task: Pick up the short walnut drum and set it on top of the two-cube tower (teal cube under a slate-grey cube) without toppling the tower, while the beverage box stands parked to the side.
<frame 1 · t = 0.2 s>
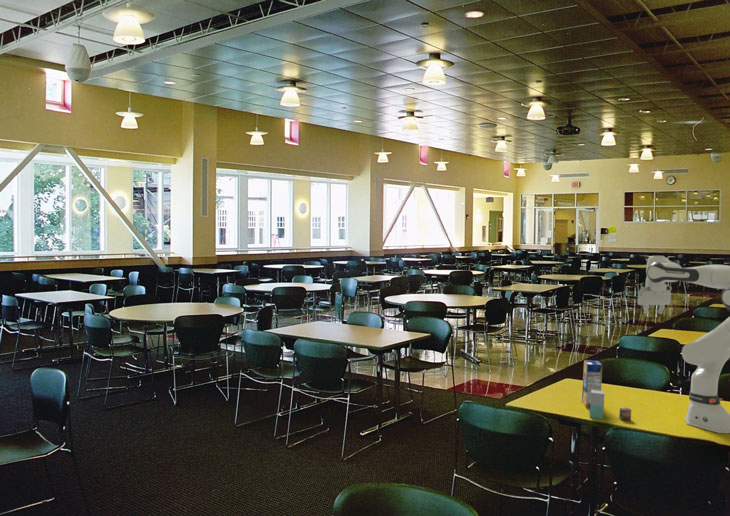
hand: (653, 313, 318), 48 cm above the table, fingers open, 8 cm apart
beverage box: (590, 405, 317), on the table
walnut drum: (624, 419, 294), on the table
tower top: (597, 404, 297), point 6 cm above the table, touching tower base
tower base: (596, 416, 298), on the table, touching tower top
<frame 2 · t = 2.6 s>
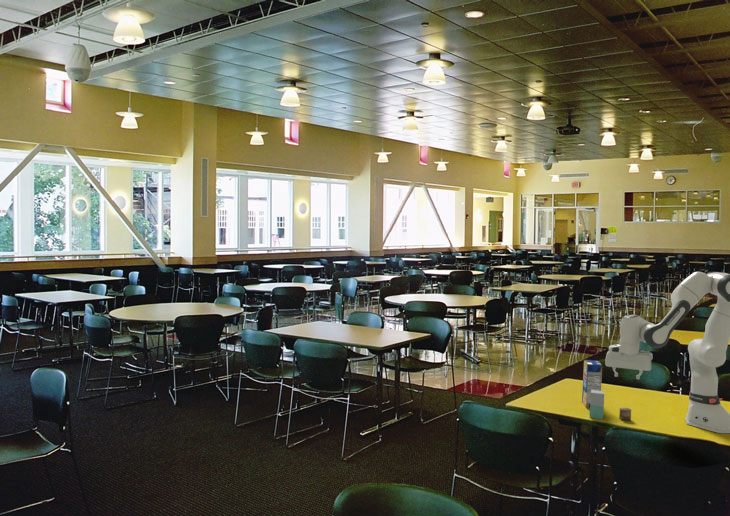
hand: (627, 377, 293), 20 cm above the table, fingers open, 8 cm apart
nothing on the table moved.
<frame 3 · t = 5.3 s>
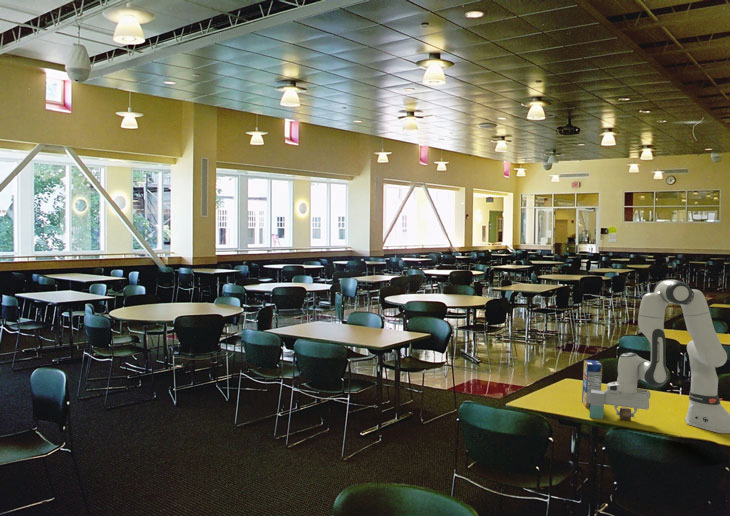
hand: (625, 415, 294), 2 cm above the table, fingers closed on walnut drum, 5 cm apart
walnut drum: (625, 419, 294), on the table, touching gripper
everything else where it was.
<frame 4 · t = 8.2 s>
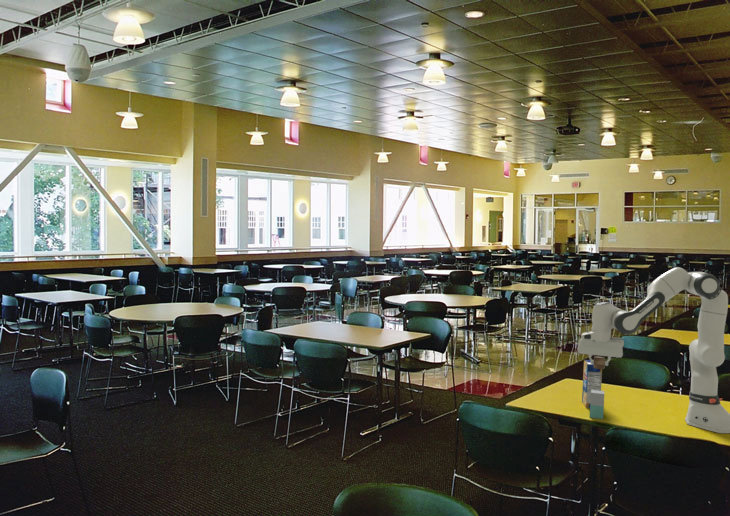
hand: (599, 364, 296), 25 cm above the table, fingers closed on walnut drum, 5 cm apart
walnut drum: (599, 368, 296), point 23 cm above the table, touching gripper
everything else where it was.
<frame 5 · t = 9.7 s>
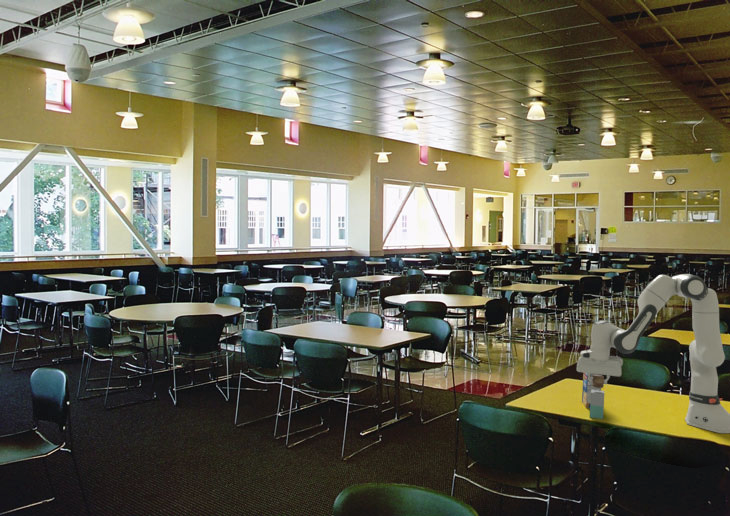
hand: (598, 383, 297), 16 cm above the table, fingers closed on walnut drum, 5 cm apart
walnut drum: (597, 386, 297), point 15 cm above the table, touching gripper
everything else where it was.
when the fingers open (15 cm above the table, at t = 11.2 s): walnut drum drops 1 cm, resting on tower top.
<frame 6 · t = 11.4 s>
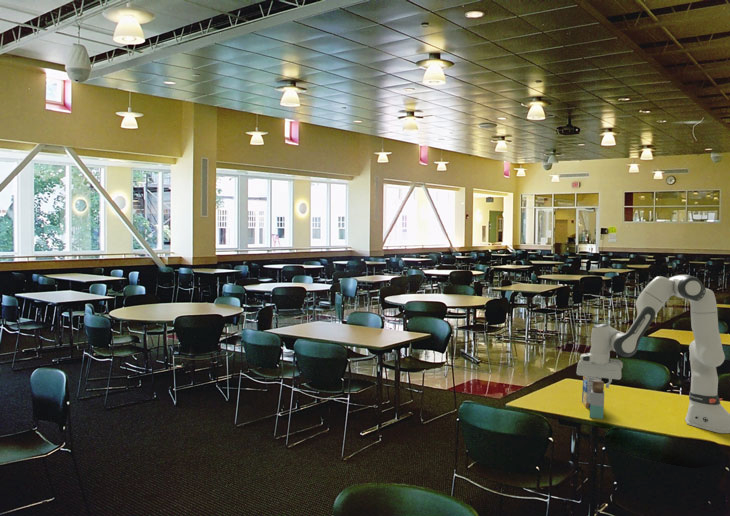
hand: (598, 386, 297), 15 cm above the table, fingers open, 7 cm apart
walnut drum: (597, 391, 297), point 12 cm above the table, touching tower top
tower top: (597, 404, 297), point 6 cm above the table, touching tower base, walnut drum
everything else where it was.
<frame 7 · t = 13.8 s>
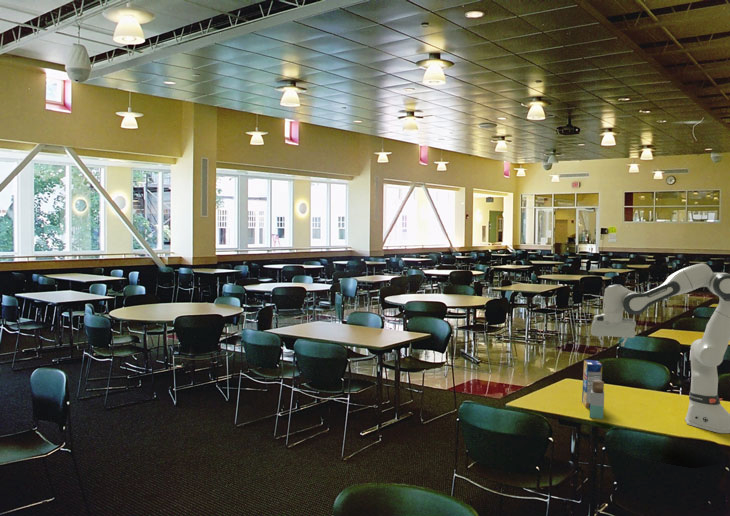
hand: (612, 345, 304), 33 cm above the table, fingers open, 8 cm apart
nothing on the table moved.
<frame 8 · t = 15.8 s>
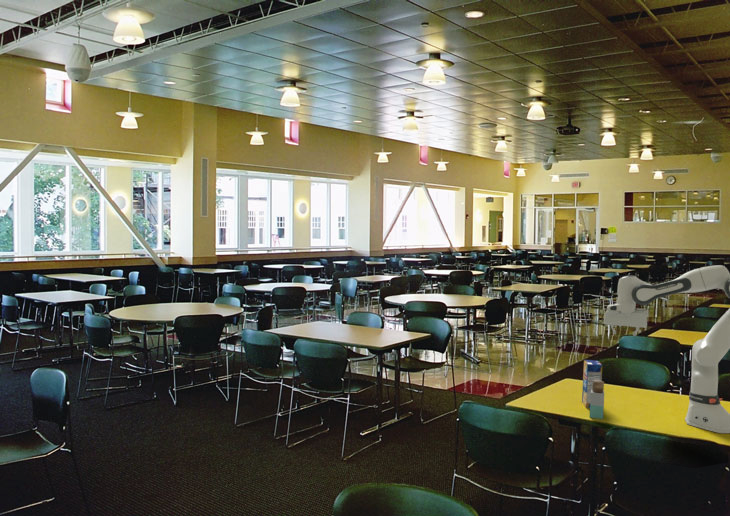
hand: (624, 334, 313), 37 cm above the table, fingers open, 8 cm apart
nothing on the table moved.
at the end: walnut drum 0.1 cm off-centre on the tower top, point 6.0 cm above the tower top's base; tower top tilted 0°; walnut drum tilted 0° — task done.
